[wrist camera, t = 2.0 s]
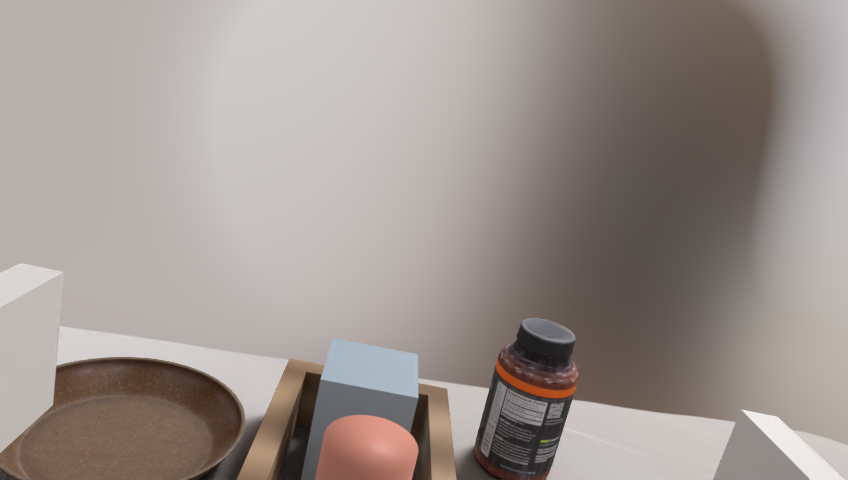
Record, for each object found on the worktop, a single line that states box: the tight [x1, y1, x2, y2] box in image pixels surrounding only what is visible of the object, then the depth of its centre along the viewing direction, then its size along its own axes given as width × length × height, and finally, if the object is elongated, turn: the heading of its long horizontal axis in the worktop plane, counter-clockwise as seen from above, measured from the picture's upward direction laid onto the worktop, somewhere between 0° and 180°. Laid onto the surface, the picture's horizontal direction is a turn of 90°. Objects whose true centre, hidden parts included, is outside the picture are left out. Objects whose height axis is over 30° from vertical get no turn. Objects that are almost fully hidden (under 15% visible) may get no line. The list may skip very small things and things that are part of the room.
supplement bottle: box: [475, 318, 578, 480], centre depth 45 cm, size 6×6×11 cm
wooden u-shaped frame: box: [237, 359, 457, 480], centre depth 39 cm, size 16×12×4 cm
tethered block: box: [301, 338, 418, 480], centre depth 33 cm, size 21×6×13 cm, turn 1°
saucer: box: [0, 357, 245, 480], centre depth 39 cm, size 15×15×3 cm
